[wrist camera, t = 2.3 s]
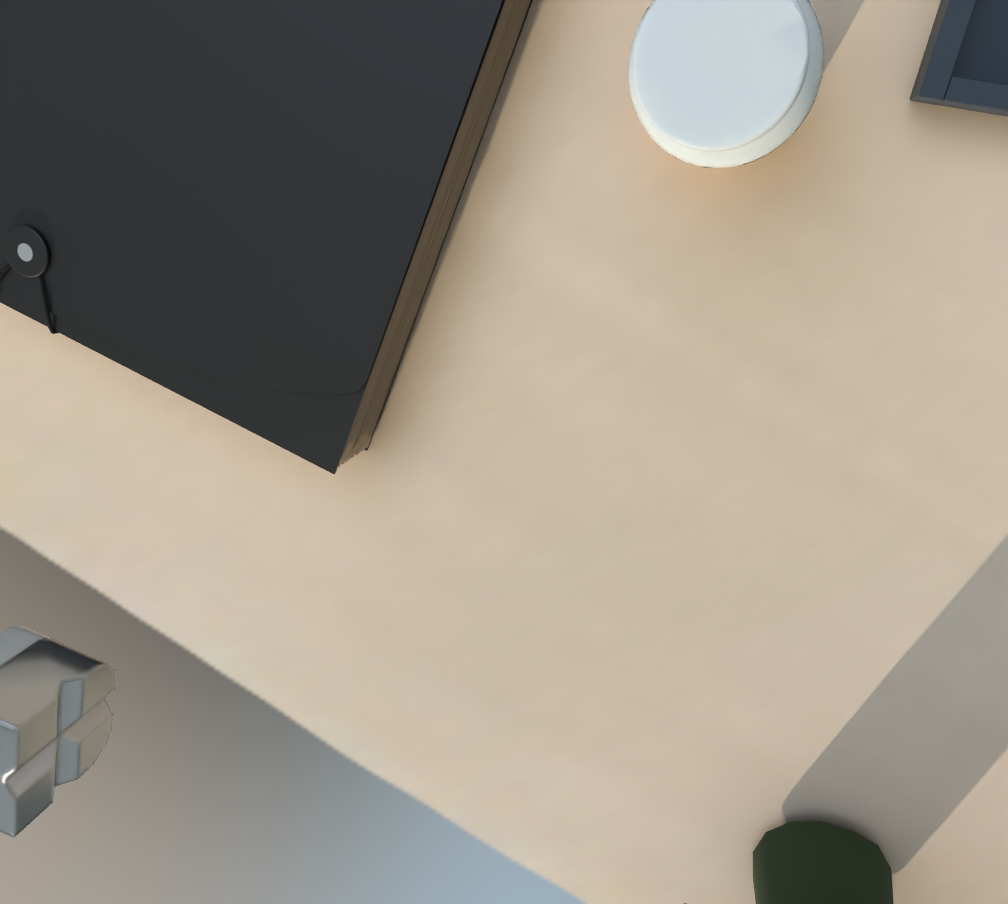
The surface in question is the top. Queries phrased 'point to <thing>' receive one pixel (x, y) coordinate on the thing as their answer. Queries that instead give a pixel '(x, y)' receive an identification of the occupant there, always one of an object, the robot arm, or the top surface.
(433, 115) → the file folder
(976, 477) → the top surface
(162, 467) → the top surface
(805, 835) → the character mug
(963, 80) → the tray
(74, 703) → the robot arm
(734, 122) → the pill bottle
